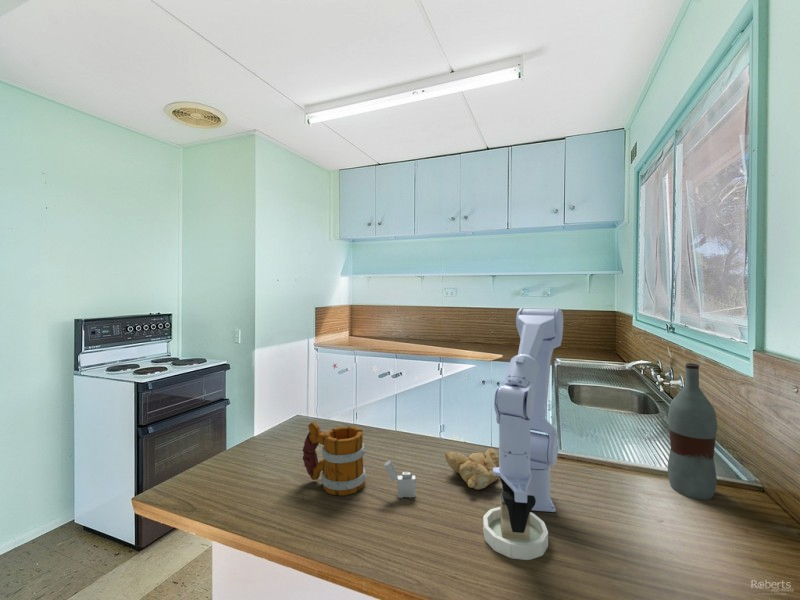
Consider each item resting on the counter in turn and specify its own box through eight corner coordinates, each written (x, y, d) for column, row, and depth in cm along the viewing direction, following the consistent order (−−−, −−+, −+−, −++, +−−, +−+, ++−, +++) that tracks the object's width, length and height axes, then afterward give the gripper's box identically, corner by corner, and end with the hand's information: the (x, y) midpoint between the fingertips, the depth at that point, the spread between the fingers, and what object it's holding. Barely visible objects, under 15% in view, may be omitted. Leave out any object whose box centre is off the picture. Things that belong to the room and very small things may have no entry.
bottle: (715, 506, 79) (716, 370, 78) (664, 490, 85) (665, 364, 84) (717, 489, 85) (719, 363, 85) (670, 475, 92) (671, 358, 91)
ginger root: (448, 492, 83) (449, 454, 84) (442, 474, 98) (443, 443, 100) (517, 495, 82) (516, 458, 84) (500, 477, 98) (499, 446, 99)
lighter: (415, 493, 85) (415, 459, 85) (415, 497, 83) (415, 463, 83) (385, 493, 85) (384, 460, 84) (384, 497, 83) (384, 463, 83)
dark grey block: (500, 527, 71) (500, 492, 71) (526, 530, 70) (526, 495, 70) (502, 538, 68) (502, 501, 68) (529, 540, 67) (529, 503, 67)
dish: (481, 515, 76) (481, 504, 76) (539, 520, 74) (539, 509, 74) (486, 555, 64) (486, 542, 64) (554, 562, 63) (554, 548, 63)
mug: (359, 499, 82) (358, 434, 82) (293, 491, 86) (292, 429, 85) (372, 475, 93) (371, 418, 93) (313, 470, 96) (312, 414, 96)
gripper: (489, 432, 77) (489, 495, 77) (497, 464, 62) (497, 542, 63) (523, 434, 76) (523, 498, 76) (539, 467, 61) (539, 546, 62)
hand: (514, 518), depth 69 cm, fingers open, 7 cm apart
